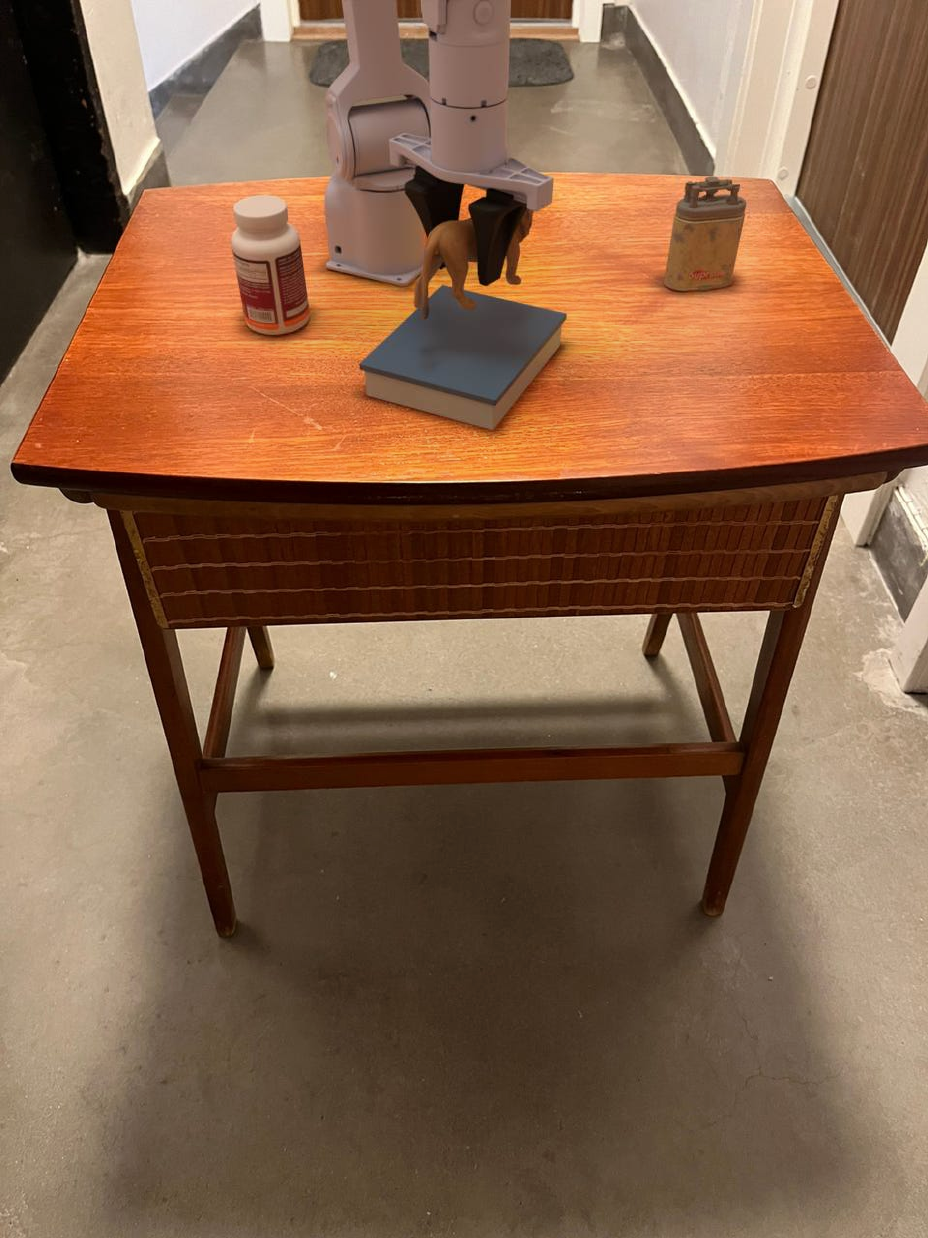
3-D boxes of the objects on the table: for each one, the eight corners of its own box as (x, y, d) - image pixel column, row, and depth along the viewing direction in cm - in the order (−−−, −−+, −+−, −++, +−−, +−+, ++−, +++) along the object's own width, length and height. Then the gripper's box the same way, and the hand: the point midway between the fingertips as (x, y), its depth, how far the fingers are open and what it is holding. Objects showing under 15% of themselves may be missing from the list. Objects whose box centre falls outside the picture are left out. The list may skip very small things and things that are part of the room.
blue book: (361, 396, 85) (358, 363, 82) (442, 315, 94) (442, 284, 92) (494, 433, 81) (495, 400, 78) (564, 345, 91) (567, 313, 88)
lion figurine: (496, 253, 88) (497, 148, 82) (546, 267, 86) (552, 161, 80) (397, 318, 80) (390, 206, 74) (450, 335, 78) (448, 222, 71)
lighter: (723, 271, 101) (743, 171, 94) (738, 288, 98) (760, 187, 91) (658, 277, 100) (673, 177, 93) (671, 295, 97) (687, 193, 90)
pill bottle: (301, 300, 96) (287, 186, 89) (317, 330, 92) (303, 214, 84) (239, 311, 95) (218, 196, 87) (252, 342, 91) (232, 224, 83)
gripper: (582, 101, 71) (567, 280, 80) (427, 62, 77) (431, 232, 87) (524, 129, 67) (516, 313, 77) (367, 85, 73) (378, 260, 83)
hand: (467, 272), depth 81 cm, fingers closed on lion figurine, 4 cm apart
